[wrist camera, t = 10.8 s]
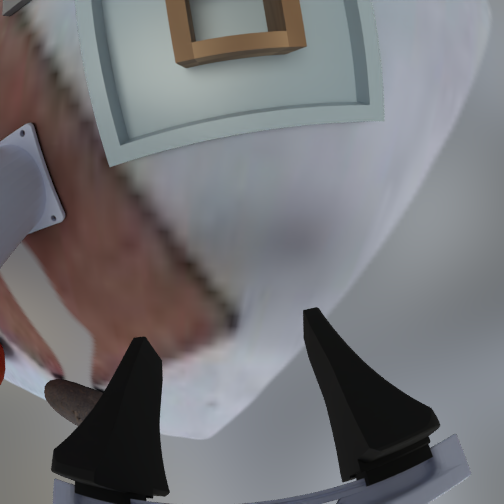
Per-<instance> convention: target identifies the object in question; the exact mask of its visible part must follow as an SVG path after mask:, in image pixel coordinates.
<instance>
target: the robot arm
mask: <svg viewBox="0 0 504 504" xmlns="http://www.w3.org/2000/svg"><path fill="white" fill-rule="evenodd" d="M23 130H24V131H25V135H24V134H23ZM53 215H54V216H55V217H56V219H55V218H54V217H53ZM64 219H65V212H64V210H63V208H62V205H61V203H60V201H59V198H58V196H57V193H56V191H55V188H54V186H53V183H52V180H51V178H50V175H49V172H48V169H47V167H46V164H45V161H44V158H43V155H42V152H41V148H40V145H39V142H38V138H37V135H36V132H35V128H34V125H33V124H32V123H27V124H25V125H24V126H22V127H20V128H19V129H17V130H16V131H14V132H13V133H12V134H10V135H9V136H7V137H6V138H4V139H3V140H2V141H0V268H1V267H2V265H3V264H4V263H5V261H6V260H7V259H8V257H9V256H10V255H11V254H12V252H13V251H14V250H15V249H16V247H17V246H18V245H19V244H20V243H21V241H22V240H23V239H24V238H25V237H26V235H27V234H30V233H32V232H35V231H38V230H40V229H43V228H46V227H49V226H51V225H54V224H57V223H60V222H62V221H63V220H64ZM303 326H304V341H305V345H306V349H307V353H308V357H309V360H310V363H311V365H312V368H313V371H314V373H315V376H316V378H317V381H318V384H319V386H320V389H321V392H322V394H323V397H324V400H325V404H326V407H327V411H328V415H329V419H330V423H331V427H332V432H333V437H334V441H335V446H336V451H337V456H338V462H339V468H340V474H341V478H342V482H346V481H349V480H352V479H355V478H356V479H357V481H354V482H351V483H347V484H344V485H341V486H337V487H334V488H330V489H327V490H323V491H319V492H315V493H310V494H305V495H300V496H295V497H290V498H284V499H278V500H271V501H264V502H255V503H244V504H322V503H326V502H329V501H333V500H337V499H339V500H338V501H337V503H336V504H428V503H430V502H431V501H433V500H435V499H436V498H438V497H439V496H441V495H443V494H444V493H446V492H447V491H449V490H450V489H452V488H453V487H455V486H456V485H458V484H459V483H461V482H462V481H464V480H465V479H466V478H468V477H469V476H470V475H471V471H470V468H469V465H468V463H467V460H466V457H465V455H464V452H463V449H462V447H461V444H460V441H459V439H458V437H457V434H453V435H452V436H450V437H448V438H447V439H445V440H443V441H442V442H440V443H438V444H437V445H435V446H433V447H431V448H430V447H429V445H428V444H429V443H430V439H429V437H428V436H429V435H430V434H432V433H433V432H434V431H436V430H437V429H438V428H439V427H440V423H439V421H438V419H437V416H436V415H435V413H434V412H433V410H432V409H431V408H430V407H428V406H426V405H424V404H422V403H421V402H419V401H417V400H415V399H413V398H412V397H410V396H409V395H407V394H405V393H404V392H402V391H401V390H399V389H398V388H396V387H395V386H393V385H392V384H391V383H389V382H388V381H386V380H385V379H384V378H383V377H381V376H380V375H379V374H378V373H376V372H375V371H374V370H373V369H372V368H371V367H369V366H368V365H367V364H366V363H365V362H364V361H363V360H362V359H361V358H360V357H359V356H358V355H357V354H356V353H355V352H354V351H353V350H352V349H351V348H350V347H349V346H348V345H347V344H346V342H345V341H344V340H343V339H342V338H341V337H340V336H339V335H338V333H337V332H336V331H335V330H334V329H333V327H332V326H331V325H330V323H329V322H328V321H327V319H326V318H325V317H324V315H323V314H322V312H321V311H320V309H319V308H317V307H316V308H311V309H307V310H303ZM162 381H163V377H162V360H161V359H160V357H159V356H158V354H157V353H156V352H155V350H154V349H153V347H152V346H151V344H150V343H149V341H148V340H147V338H146V337H136V338H133V340H132V342H131V344H130V346H129V347H128V349H127V351H126V353H125V355H124V357H123V359H122V361H121V363H120V364H119V366H118V368H117V370H116V372H115V374H114V375H113V377H112V379H111V381H110V382H109V384H108V386H107V388H106V389H105V391H104V393H103V394H102V396H101V397H100V399H99V400H98V402H97V403H96V405H95V406H94V408H93V409H92V410H91V412H90V413H89V414H88V415H87V417H86V418H85V419H84V420H83V422H82V423H81V424H80V425H79V426H78V427H77V428H76V430H75V431H74V432H73V433H72V434H71V435H70V436H69V437H68V438H67V439H65V440H64V441H63V442H62V443H61V444H60V445H59V446H58V447H57V448H55V449H54V451H53V459H52V468H51V470H52V472H54V473H56V474H58V475H60V476H63V477H66V478H68V479H71V480H74V481H75V485H73V484H70V483H67V482H64V481H61V480H58V479H54V491H53V504H167V503H158V502H149V501H146V498H153V495H154V496H166V495H168V494H169V493H170V491H169V488H168V484H167V480H166V476H165V471H164V465H163V459H162V451H161V442H160V406H161V394H162Z"/></svg>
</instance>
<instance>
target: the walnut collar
mask: <svg viewBox="0 0 504 504" xmlns="http://www.w3.org/2000/svg"><path fill="white" fill-rule="evenodd" d="M165 3H166V9H167V16H168V22H169V28H170V34H171V40H172V46H173V51H174V57H175V62H176V64H178V65H180V66H182V67H184V68H190V67H194V66H199V65H204V64H209V63H215V62H220V61H227V60H233V59H241V58H249V57H258V56H269V55H284V54H288V53H290V52H293V51H296V50H299V49H301V48H304V47H307V44H306V37H305V30H304V24H303V18H302V12H301V7H300V1H299V0H263V5H264V11H265V17H266V23H267V29H268V32H259V33H248V34H239V35H231V36H224V37H218V38H212V39H206V40H201V41H196V39H195V33H194V27H193V21H192V15H191V9H190V3H189V0H165Z"/></svg>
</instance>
